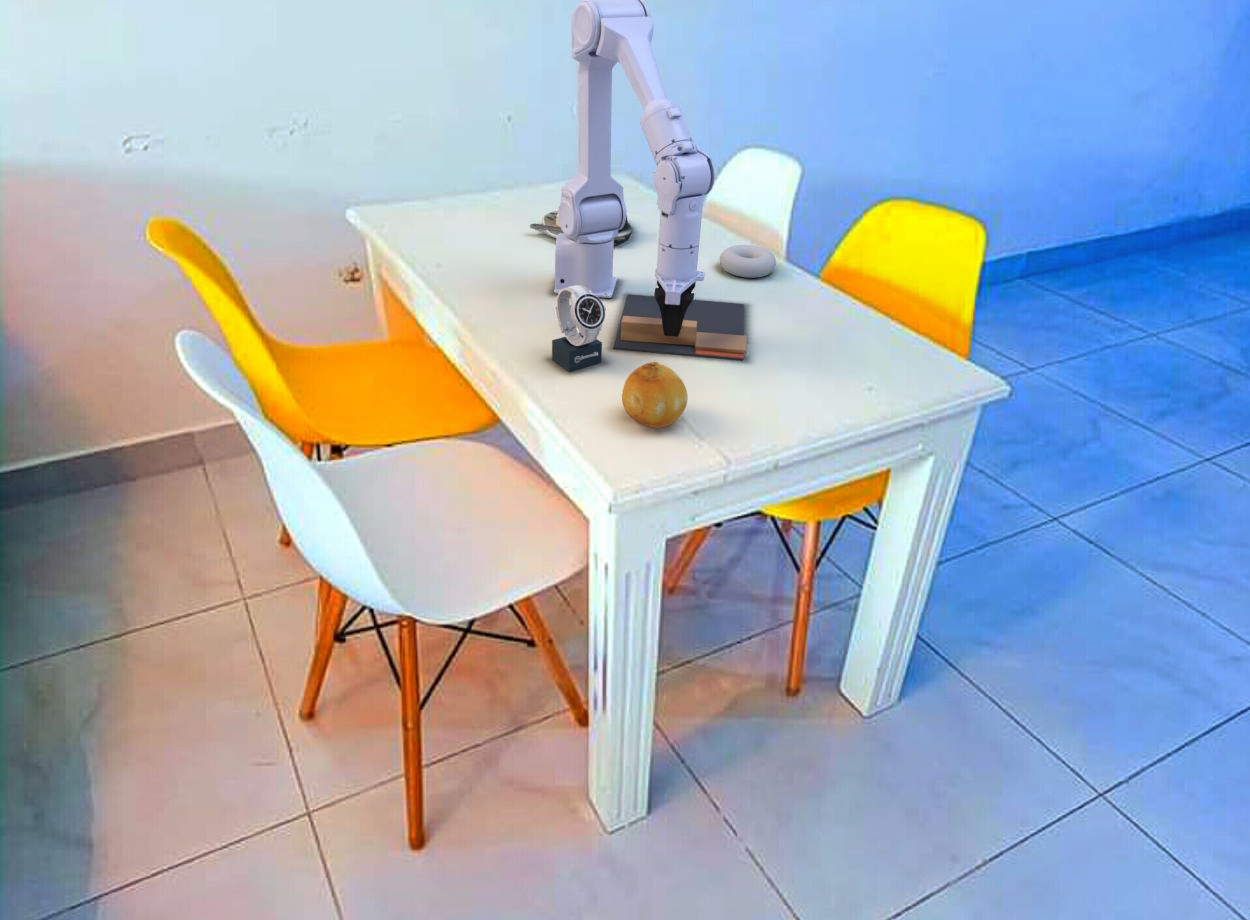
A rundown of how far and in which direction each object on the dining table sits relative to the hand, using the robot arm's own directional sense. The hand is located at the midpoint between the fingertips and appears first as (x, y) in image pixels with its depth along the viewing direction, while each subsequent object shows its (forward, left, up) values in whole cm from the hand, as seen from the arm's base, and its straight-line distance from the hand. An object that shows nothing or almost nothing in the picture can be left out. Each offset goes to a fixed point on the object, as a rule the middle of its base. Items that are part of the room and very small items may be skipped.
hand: (671, 331), depth 135 cm
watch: (-13, -9, -2) cm, 15 cm away
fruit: (-1, -23, -2) cm, 23 cm away
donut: (+11, +32, -2) cm, 34 cm away
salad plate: (-19, +45, -2) cm, 49 cm away
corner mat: (+1, +6, -2) cm, 7 cm away
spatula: (+2, 0, -2) cm, 2 cm away
